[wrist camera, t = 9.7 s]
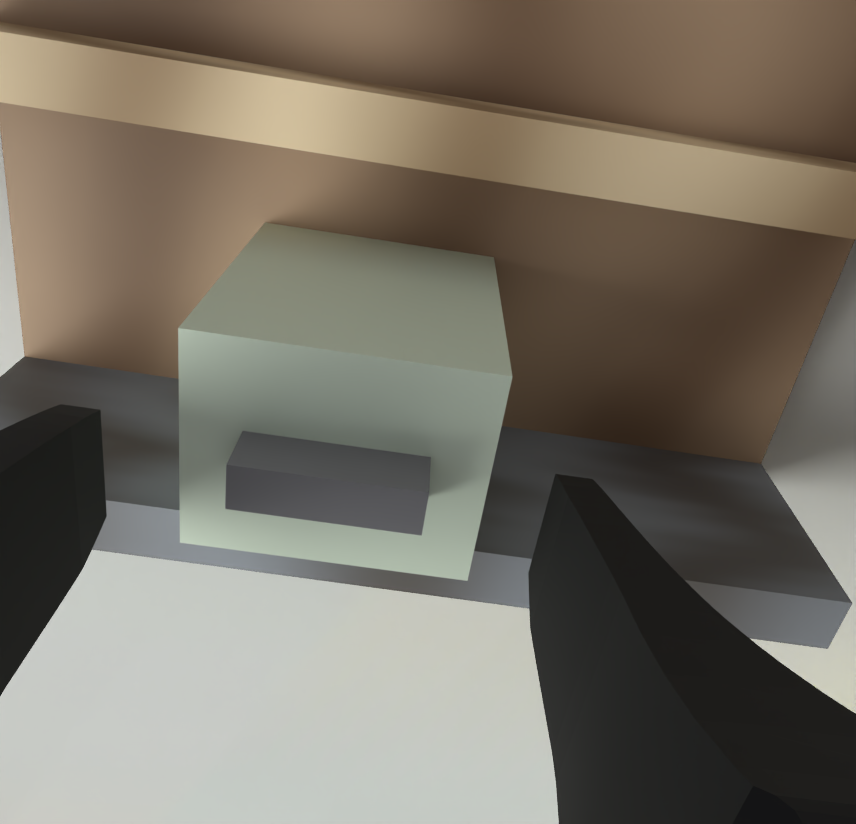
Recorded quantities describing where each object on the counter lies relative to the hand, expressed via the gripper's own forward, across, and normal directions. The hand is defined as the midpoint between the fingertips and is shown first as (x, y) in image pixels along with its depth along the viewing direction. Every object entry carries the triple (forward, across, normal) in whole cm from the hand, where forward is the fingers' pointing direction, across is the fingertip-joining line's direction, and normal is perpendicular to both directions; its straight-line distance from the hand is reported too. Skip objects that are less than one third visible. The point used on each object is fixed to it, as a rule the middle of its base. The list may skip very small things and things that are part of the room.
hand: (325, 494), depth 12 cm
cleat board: (+7, -1, -4) cm, 8 cm away
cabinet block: (+6, 0, 0) cm, 6 cm away
